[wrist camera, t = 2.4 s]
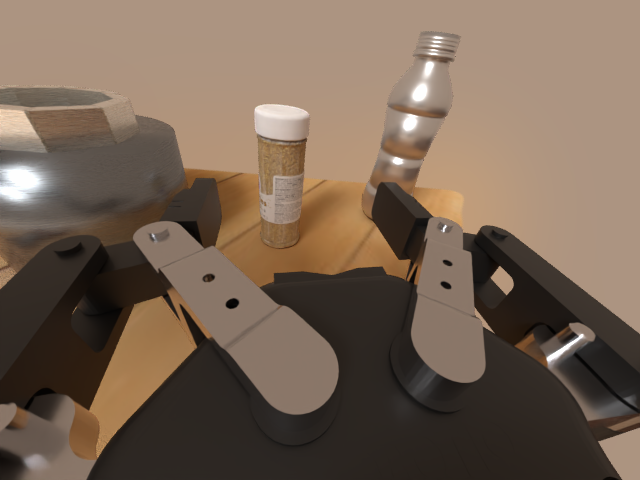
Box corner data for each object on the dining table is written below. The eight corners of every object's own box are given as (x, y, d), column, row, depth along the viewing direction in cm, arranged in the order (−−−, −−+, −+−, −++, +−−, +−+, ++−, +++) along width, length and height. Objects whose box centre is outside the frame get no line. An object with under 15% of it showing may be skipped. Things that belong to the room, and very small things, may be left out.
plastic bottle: (379, 201, 38) (430, 38, 25) (413, 223, 34) (492, 41, 21) (348, 209, 35) (389, 28, 22) (381, 235, 30) (454, 28, 18)
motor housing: (34, 321, 17) (-170, 137, 9) (-6, 215, 25) (-132, 70, 17) (223, 235, 27) (202, 112, 19) (151, 179, 34) (115, 77, 27)
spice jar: (257, 228, 28) (250, 100, 20) (294, 224, 30) (301, 104, 22) (263, 253, 25) (258, 112, 17) (304, 247, 27) (317, 116, 18)
